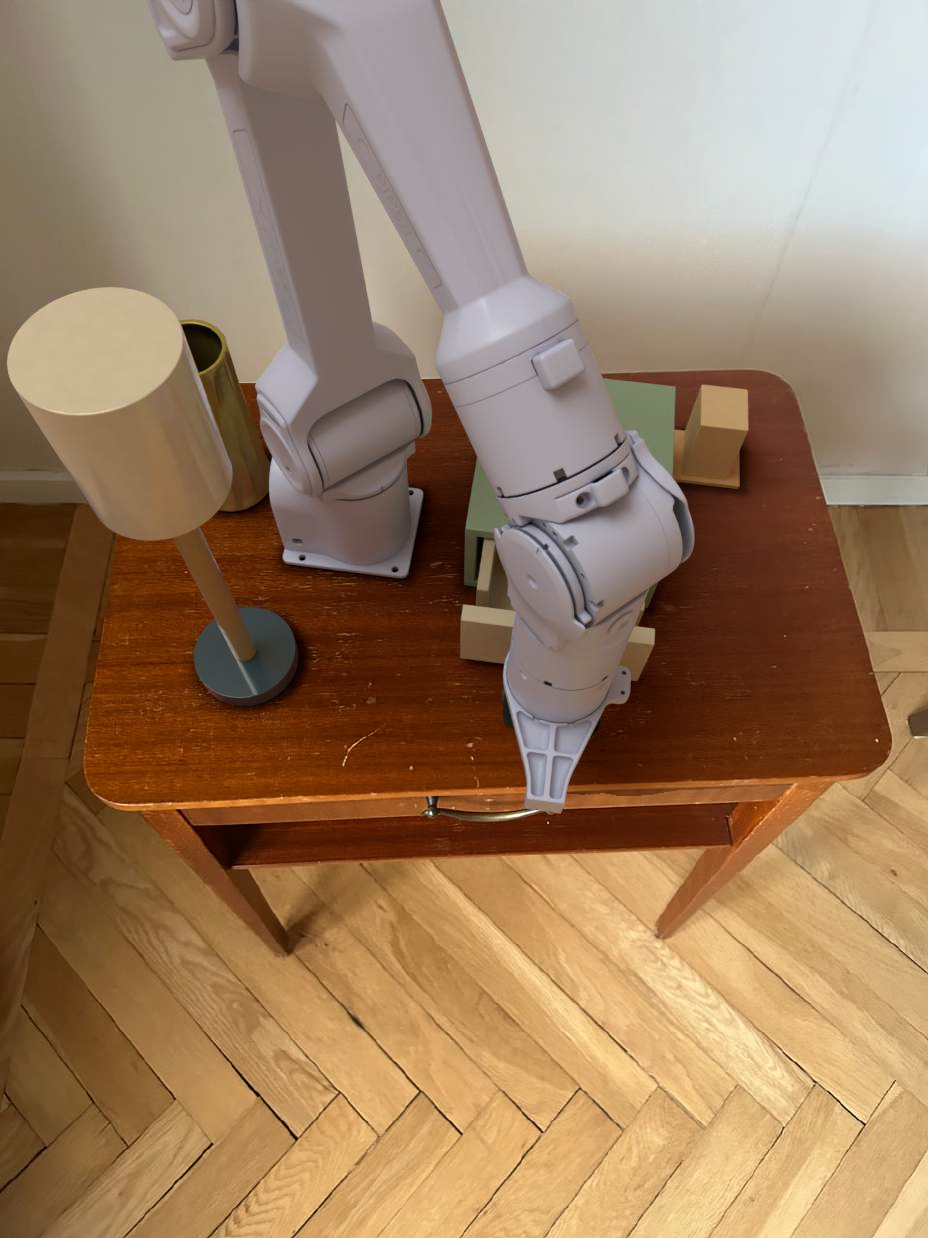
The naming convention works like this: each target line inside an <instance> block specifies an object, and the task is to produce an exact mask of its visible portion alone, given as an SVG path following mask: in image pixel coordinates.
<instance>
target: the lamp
mask: <svg viewBox="0 0 928 1238" xmlns="http://www.w3.org/2000/svg"><path fill="white" fill-rule="evenodd" d="M6 368H7V374H8V377H9V381H10V383H11V384H12V387H13V388H14V390H15V391H16V393H17V395H18V397H20V399H21V401H22V402H23V404H24V406H25V407H26V409H27V410H28V412H29V414H30V415H31V417H32V418H33V419H34V422H35V423H36V424H37V426H38V427H39V429H40V431H41V432H42V434H43V435H44V437H45V438H46V440H47V441H48V443H49V445H50V446H51V448H52V449H53V451H54V452H55V454H56V456H57V457H58V459H59V460H60V462H61V464H62V465H63V466H64V468H65V470H66V471H67V473H68V475H69V476H70V478H71V479H72V481H73V483H74V484H75V485H76V487H77V488H78V490H79V492H80V493H81V495H82V496H83V498H84V499H85V501H86V503H87V504H88V506H89V508H90V509H91V511H92V512H93V514H94V515H95V517H96V518H97V519H98V520H99V522H100V523H102V525H104V526H105V527H106V528H107V529H108V530H109V531H112V532H113V533H115V534H117V535H118V536H119V535H120V536H122V537H125V538H128V539H132V540H136V541H147V542H153V541H164V540H170V539H172V541H173V543H174V544H175V546H176V548H177V550H178V553H179V554H180V556H181V557H182V560H183V562H184V564H185V565H186V568H187V569H188V571H189V573H190V575H191V577H192V580H193V581H194V583H195V584H196V586H197V589H198V590H199V592H200V594H201V596H202V598H203V600H204V601H205V604H206V605H207V607H208V609H209V612H210V613H211V615H212V618H213V619H212V620H211V621H210V622H209V623H208V624H207V625H206V626H205V627H204V628H203V630H202V632H201V633H200V635H199V637H198V638H197V640H196V643H195V647H194V650H193V665H194V669H195V671H196V675H197V676H198V678H199V680H200V681H201V683H202V684H203V686H204V688H205V689H206V690H207V691H208V692H209V694H211V695H212V697H214V698H215V699H217V700H218V701H221V702H222V703H225V704H227V705H232V706H236V707H250V706H256V705H259V704H264V703H266V702H268V701H270V700H272V699H274V698H276V697H277V696H278V695H280V694H281V693H282V692H283V691H284V690H285V689H287V687H288V686H289V685H290V683H291V682H292V681H293V679H294V677H295V675H296V673H297V670H298V667H299V660H300V659H299V658H300V653H299V648H298V644H297V641H296V638H295V635H294V633H293V630H292V628H291V627H290V625H289V624H288V622H286V620H285V619H284V618H283V617H281V616H280V615H279V614H277V613H276V612H274V611H272V610H269V609H266V608H262V607H258V606H243V607H238V605H237V603H236V601H235V598H234V596H233V594H232V592H231V589H230V587H229V585H228V583H227V581H226V578H225V577H224V575H223V572H222V570H221V568H220V566H219V564H218V561H217V559H216V556H215V555H214V553H213V551H212V548H211V546H210V544H209V542H208V540H207V537H206V535H205V534H204V531H203V529H202V527H201V526H203V525H204V524H205V523H207V522H208V521H209V520H210V519H212V518H213V517H214V516H215V515H216V514H217V513H218V511H220V510H219V509H220V507H221V506H222V505H223V503H224V502H225V500H226V498H227V496H228V493H229V491H230V488H231V484H232V475H233V473H232V465H231V461H230V458H229V455H228V452H227V450H226V447H225V444H224V441H223V439H222V436H221V433H220V430H219V428H218V425H217V422H216V419H215V417H214V414H213V411H212V408H211V406H210V403H209V400H208V397H207V395H206V392H205V389H204V386H203V383H202V381H201V378H200V375H199V372H198V370H197V367H196V364H195V361H194V359H193V356H192V353H191V350H190V348H189V345H188V342H187V339H186V337H185V334H184V331H183V328H182V326H181V323H180V319H179V318H178V316H177V315H176V313H175V311H173V309H171V308H170V306H169V305H167V304H166V303H165V302H164V301H162V300H161V299H159V298H157V297H156V296H154V295H152V294H149V293H147V292H144V291H141V290H137V289H134V288H130V287H129V288H128V287H120V286H119V287H118V286H106V287H105V286H104V287H103V286H101V287H93V288H86V289H83V290H78V291H75V292H72V293H69V294H66V295H64V296H60V297H59V298H57V299H55V300H53V301H51V302H48V303H47V304H46V305H44V306H42V307H41V308H40V309H38V310H37V311H36V312H34V313H33V314H31V316H29V318H28V319H26V321H24V322H23V324H22V325H21V326H20V328H19V329H18V330H17V331H16V333H15V335H14V337H12V341H11V343H10V344H9V348H8V351H7V358H6Z"/></svg>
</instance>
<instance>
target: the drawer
mask: <svg viewBox="0 0 928 1238" xmlns="http://www.w3.org/2000/svg"><path fill="white" fill-rule="evenodd" d="M507 592H508V579H507V576H506V573H505V570H504V568H503V565H502V563H501V561H500V558H499V555H498V552H497V548H496V544H495V539H493V538H485V537H484V544H483V550H482V557H481V564H480V570H479V577H478V583H477V587H476V591H475V593H476V596H475V605H471V604H463V605H462V609H461V616H460V638H459V639H460V647H459V658H460V659H464V660H465V659H466V660H473V661H478V662H479V661H482V662H487V663H496V664H503V665H504V664H505V660H506V657H507V655H508V653H509V650H510V645H511V637H512V630H513V624H514V616H515V610H514V609H513V607H512V605H511V600H510V598H509V596H508V595H507ZM645 609H646V608H645V601H644V603H643V606H642V608H641V611H640V613H639V616H638V618H637V621H636V623H635V626H634V628H633V631H632V633H631V636H630V638H629V641H628V643H627V646H626V648H625V651H624V653H623V655H622V658H621V660H620V663H619V665H620V666H624V667H627V668H628V669H629V670H630V673H631V681H634V682H637V681H639V679H640V677H641V674H642V672H643V670H644V668H645V666H646V664H647V661H648V659H649V657H650V655H651V652H652V651H653V649H654V647H655V639H656V638H655V637H656V629H655V628H653V627H646V626H640V625H639V624H640V622H641V620H642V617H643V615H644V612H645ZM504 696H505V690H504V685H503V684H502V688H501V696H500V705H502V706H503V704H504Z"/></svg>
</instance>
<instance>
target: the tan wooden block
mask: <svg viewBox="0 0 928 1238" xmlns="http://www.w3.org/2000/svg"><path fill="white" fill-rule="evenodd" d="M749 428H750V427H749V390H748V389H746V388H736V387H727V386H719V385H710V384H701V385H700V388H699V391H698V394H697V395H696V400H695V402H694V404H693V406H692V410H691V413H690V415H689V418H688V421H687V424H686V427H685V430H684V431H685V432H684V435H683V459H682V474H683V475H691V476H699V477H708V478H716V479H727V476H728V474H729V472H730V470H731V468H732V465H733V463H734V461H735V459H736V457H737V455H738V452H739V453H740V450H741V449H742V446H743V444H744V441H745V439H746V437H747V435H748V432H749V431H750V429H749Z"/></svg>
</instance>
